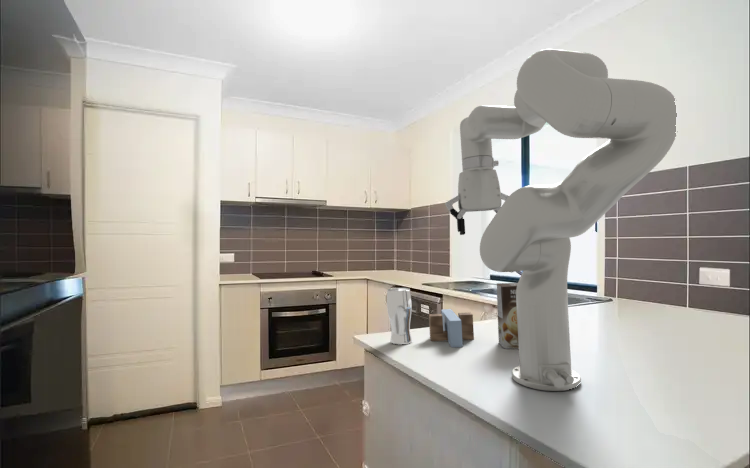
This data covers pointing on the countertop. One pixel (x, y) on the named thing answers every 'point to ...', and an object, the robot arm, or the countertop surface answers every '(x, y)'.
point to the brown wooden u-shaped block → (441, 335)
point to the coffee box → (507, 315)
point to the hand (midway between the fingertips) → (481, 233)
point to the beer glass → (399, 314)
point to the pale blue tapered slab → (452, 327)
